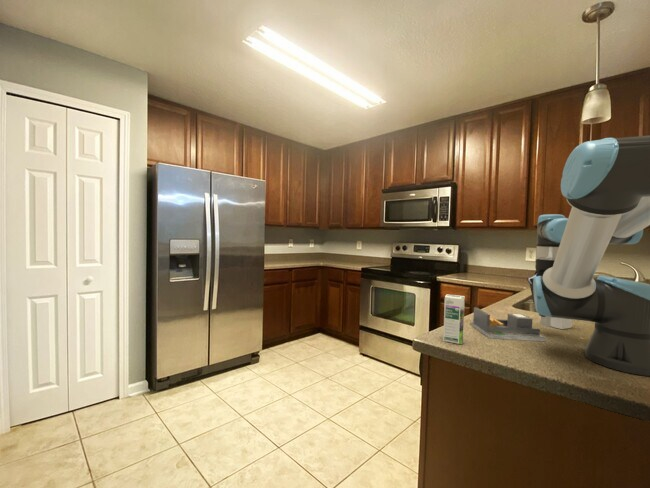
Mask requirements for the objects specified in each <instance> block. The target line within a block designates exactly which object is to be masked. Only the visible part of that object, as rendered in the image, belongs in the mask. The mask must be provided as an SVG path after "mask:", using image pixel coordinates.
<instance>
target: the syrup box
mask: <svg viewBox="0 0 650 488" xmlns="http://www.w3.org/2000/svg"><path fill="white" fill-rule="evenodd" d="M465 301H466V297H465V295H458V294H457V295H456V294H448V293H447V294H446V295H445V296H444V303H443V305H444V306H443V307H444V308H443V309H444V311H443V314H444V315H443V335H442V341H443V342H445V343H452V344H458V345H463V340H464V327H465V326H464V325H465V324H464V323H465Z"/></svg>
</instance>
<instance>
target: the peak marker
mask: <svg viewBox="0 0 650 488" xmlns="http://www.w3.org/2000/svg"><path fill="white" fill-rule="evenodd" d="M496 319H497V318H492V317H490V324H489V326H497V324H499V325H501V326H503V323H501V322H499V321H497V320H496Z"/></svg>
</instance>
